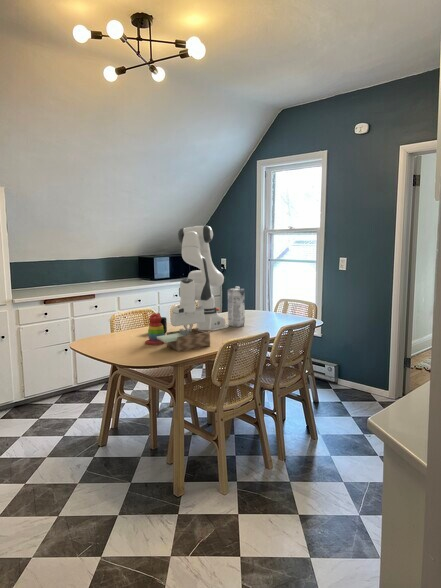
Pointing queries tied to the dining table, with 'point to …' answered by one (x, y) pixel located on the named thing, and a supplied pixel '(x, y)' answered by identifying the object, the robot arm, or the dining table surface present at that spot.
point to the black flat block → (164, 323)
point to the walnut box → (190, 340)
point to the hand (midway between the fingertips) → (188, 332)
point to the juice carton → (236, 307)
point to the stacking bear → (155, 330)
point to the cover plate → (173, 336)
